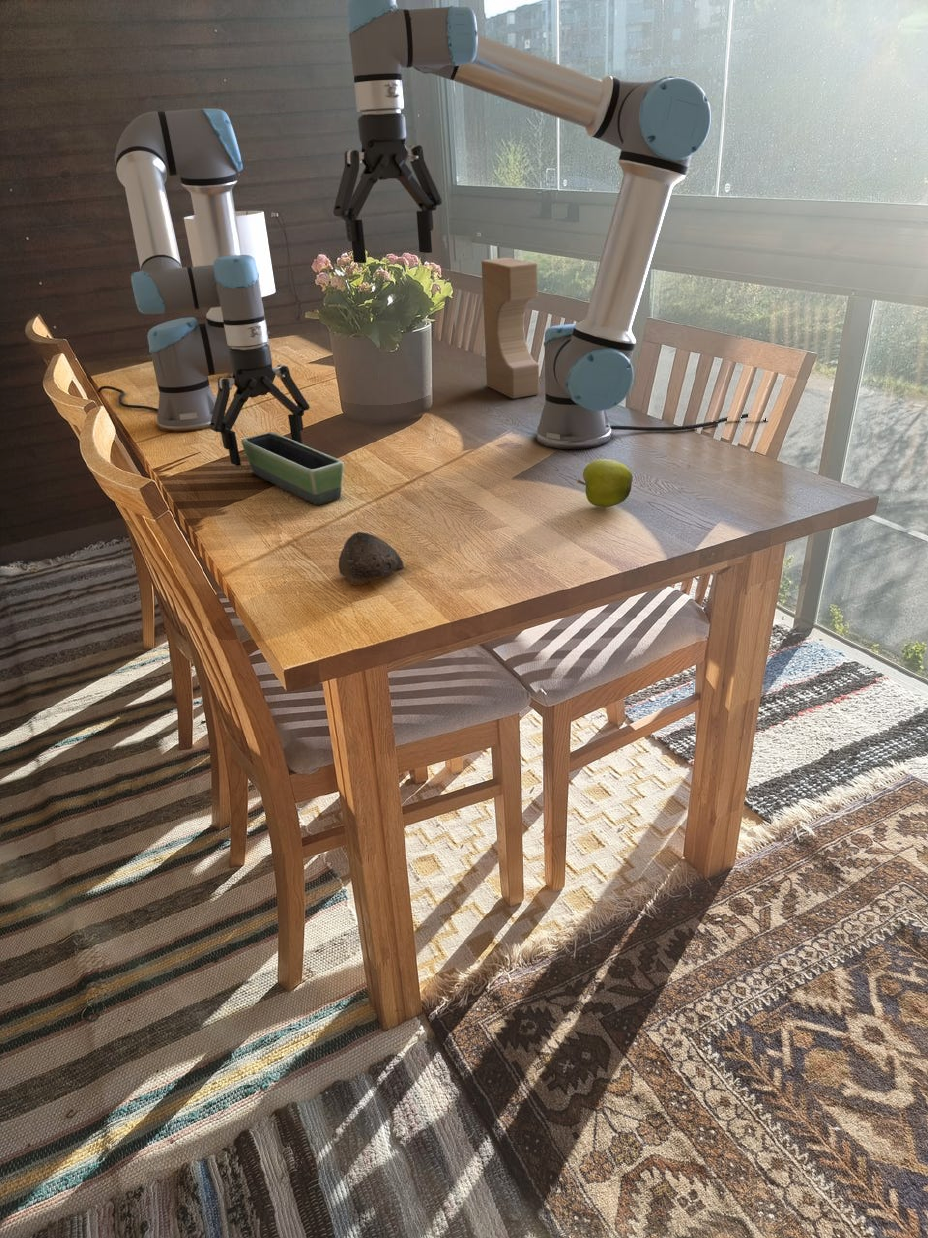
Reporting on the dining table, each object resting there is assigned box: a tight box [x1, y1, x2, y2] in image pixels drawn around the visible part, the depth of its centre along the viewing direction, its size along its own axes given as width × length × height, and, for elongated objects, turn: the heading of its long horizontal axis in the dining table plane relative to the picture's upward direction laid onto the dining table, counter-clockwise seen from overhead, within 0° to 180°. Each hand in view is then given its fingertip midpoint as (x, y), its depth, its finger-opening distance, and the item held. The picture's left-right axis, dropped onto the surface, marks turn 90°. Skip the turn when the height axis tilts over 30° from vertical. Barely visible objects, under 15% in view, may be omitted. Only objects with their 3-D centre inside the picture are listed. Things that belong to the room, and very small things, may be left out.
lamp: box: [183, 210, 276, 378], centre depth 242 cm, size 21×21×42 cm
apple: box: [577, 458, 634, 508], centre depth 149 cm, size 8×9×8 cm
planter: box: [240, 431, 345, 506], centre depth 167 cm, size 28×7×7 cm, turn 39°
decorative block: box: [481, 256, 540, 399], centre depth 213 cm, size 15×8×30 cm, turn 24°
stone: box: [338, 531, 405, 586], centre depth 130 cm, size 10×8×10 cm
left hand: (267, 455), depth 174 cm, fingers open, 13 cm apart
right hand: (393, 257), depth 150 cm, fingers open, 13 cm apart
